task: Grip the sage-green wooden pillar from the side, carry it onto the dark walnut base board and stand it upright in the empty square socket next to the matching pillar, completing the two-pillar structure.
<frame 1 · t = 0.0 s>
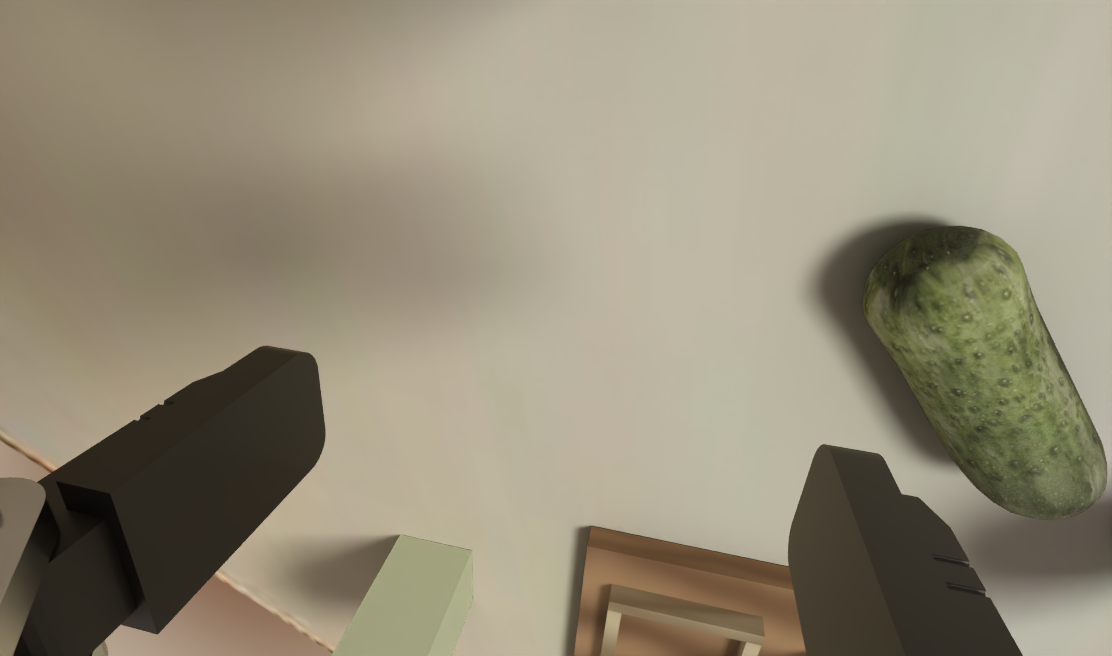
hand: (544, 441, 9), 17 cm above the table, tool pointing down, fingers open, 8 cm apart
walnut base board: (739, 637, 36), on the table
vegetable: (962, 350, 25), on the table
sage pillar: (437, 567, 39), on the table
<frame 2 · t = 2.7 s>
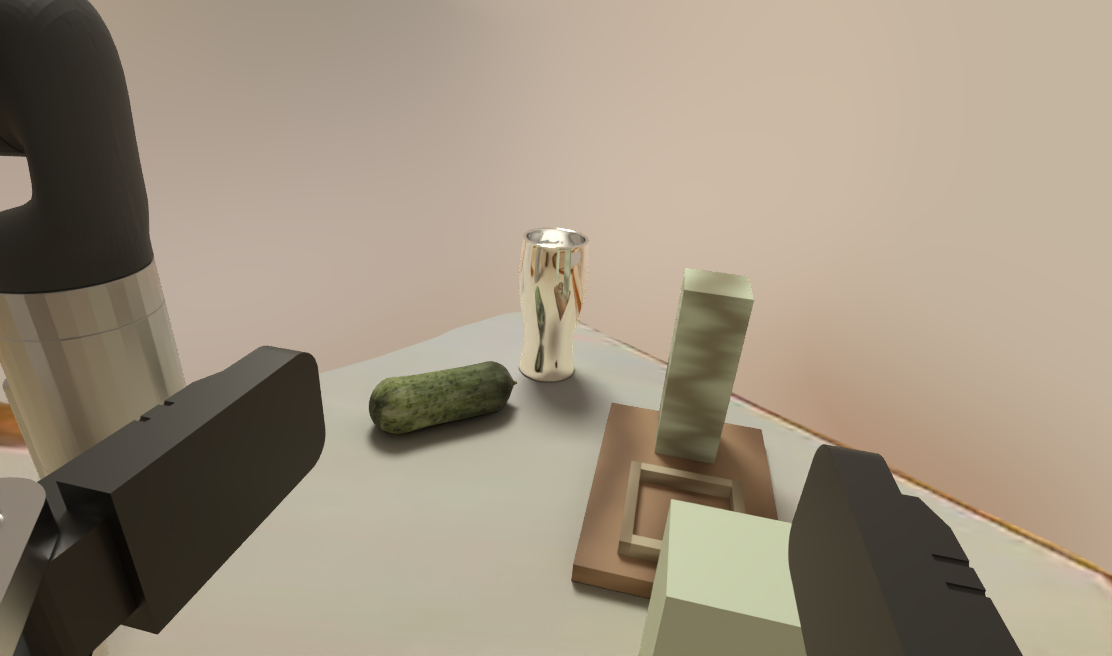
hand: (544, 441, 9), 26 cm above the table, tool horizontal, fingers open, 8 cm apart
walnut base board: (680, 500, 46), on the table
beer glass: (546, 369, 64), on the table
vegetable: (447, 419, 54), on the table
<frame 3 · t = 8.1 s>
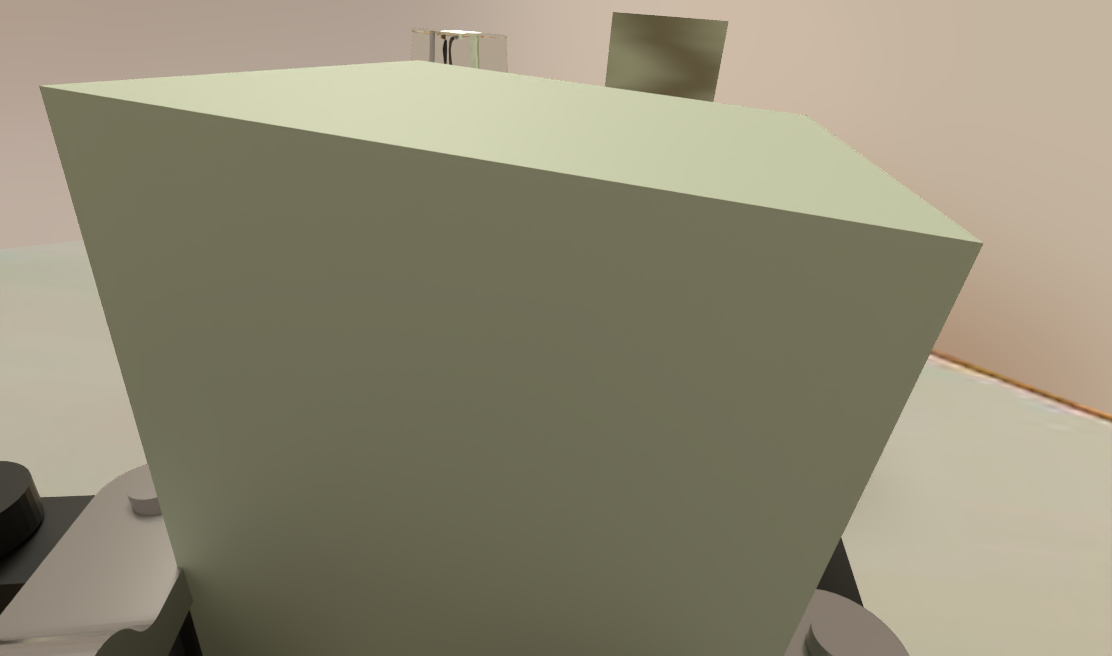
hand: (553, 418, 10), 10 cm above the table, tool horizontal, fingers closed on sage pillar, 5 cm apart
walnut base board: (612, 377, 30), on the table
beer glass: (460, 240, 47), on the table
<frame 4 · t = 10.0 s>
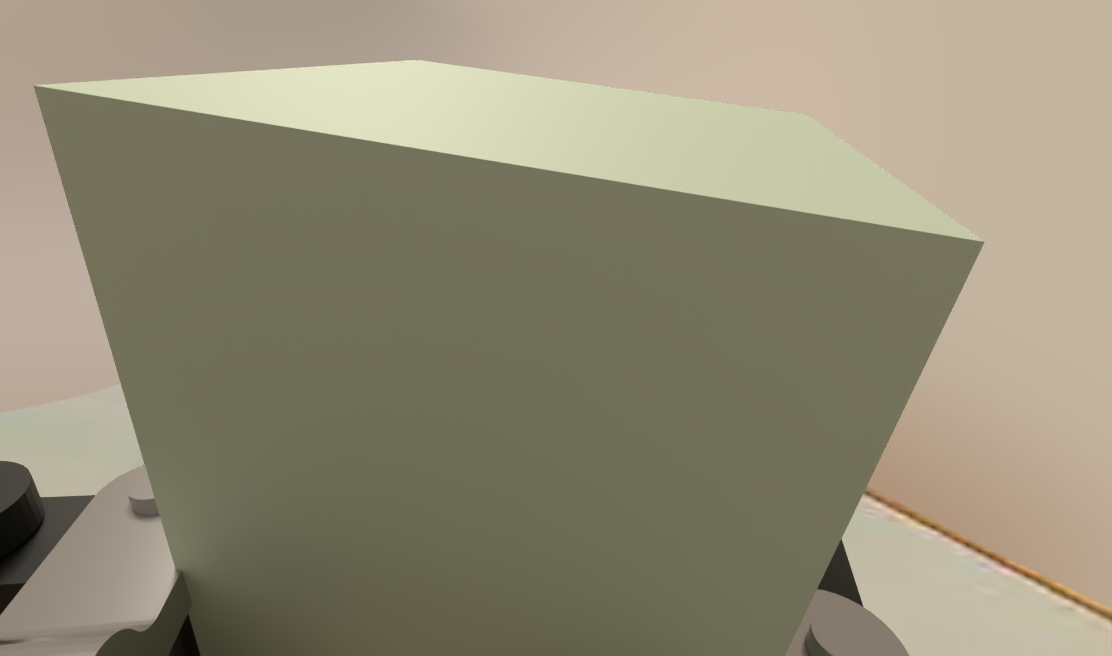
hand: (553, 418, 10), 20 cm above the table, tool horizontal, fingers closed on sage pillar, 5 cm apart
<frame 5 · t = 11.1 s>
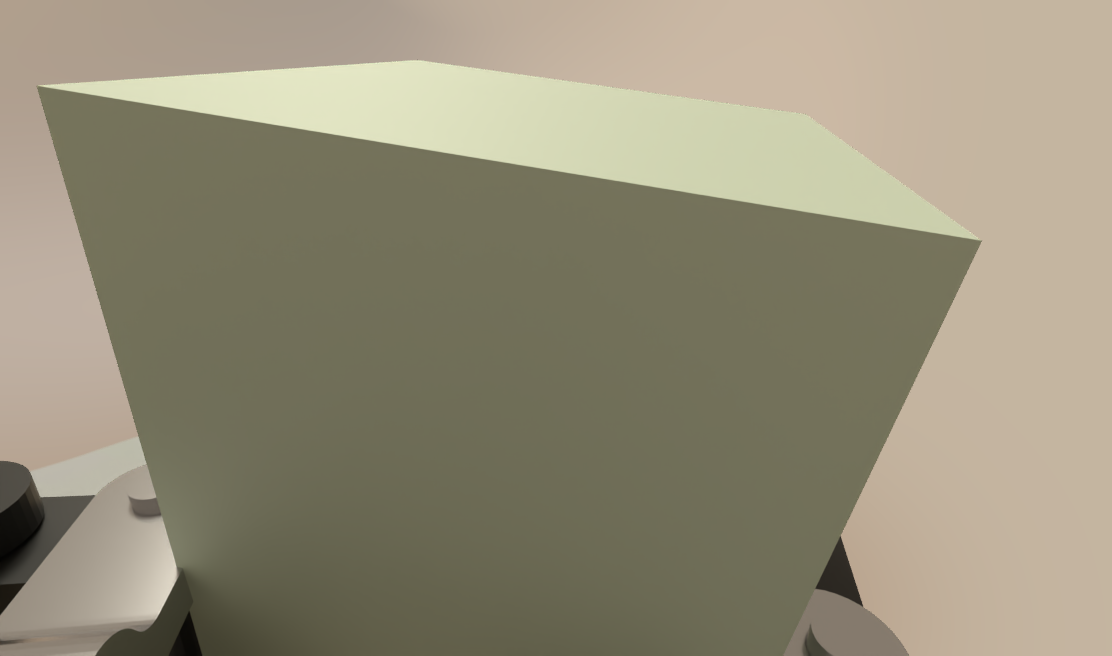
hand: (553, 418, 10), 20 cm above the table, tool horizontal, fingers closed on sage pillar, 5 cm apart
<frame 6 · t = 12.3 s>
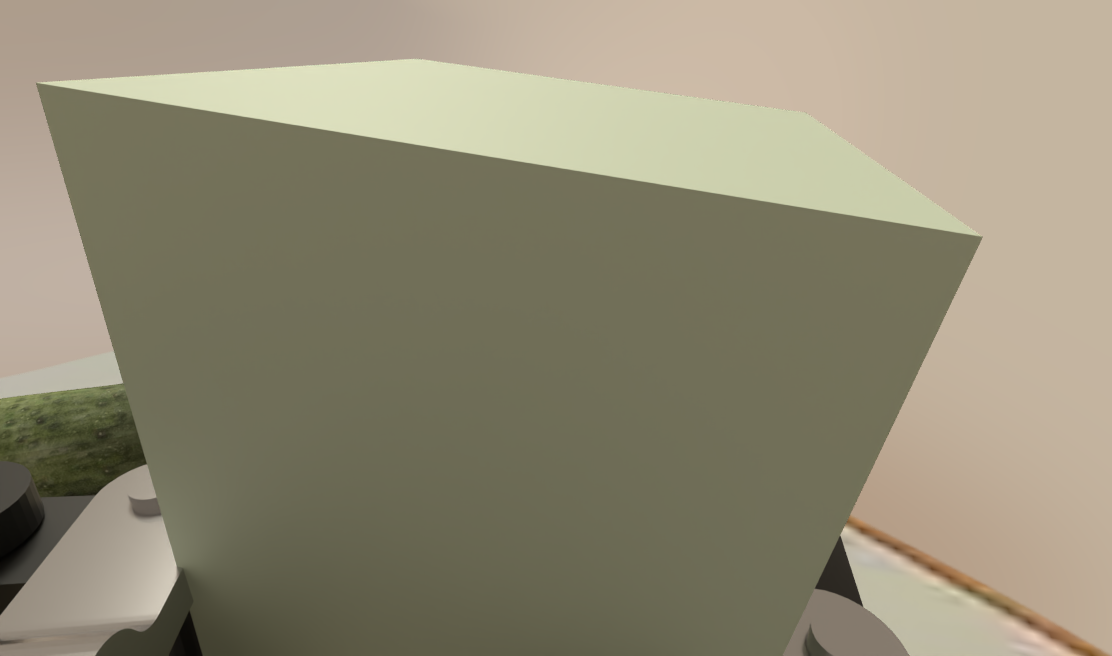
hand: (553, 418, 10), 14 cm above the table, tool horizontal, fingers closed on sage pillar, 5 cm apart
vegetable: (81, 493, 26), on the table
when the fingers open (11 cm above the table, at t = 13.4 s): sage pillar stays where it is, resting on walnut base board.
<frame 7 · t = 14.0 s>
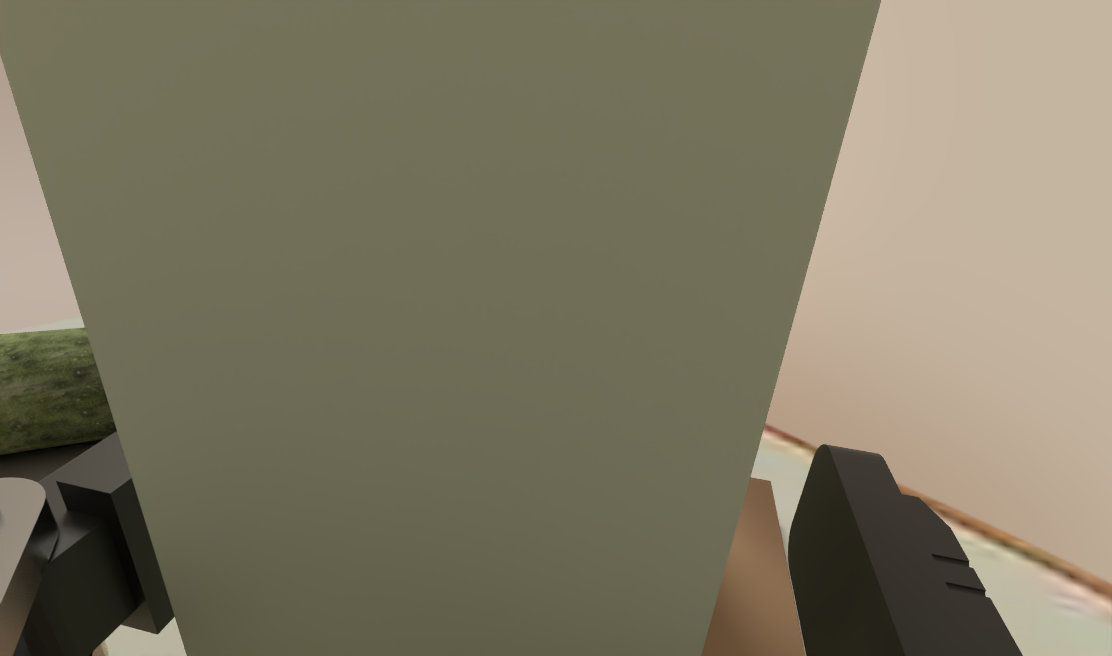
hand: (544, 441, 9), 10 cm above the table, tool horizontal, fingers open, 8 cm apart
vegetable: (61, 442, 25), on the table
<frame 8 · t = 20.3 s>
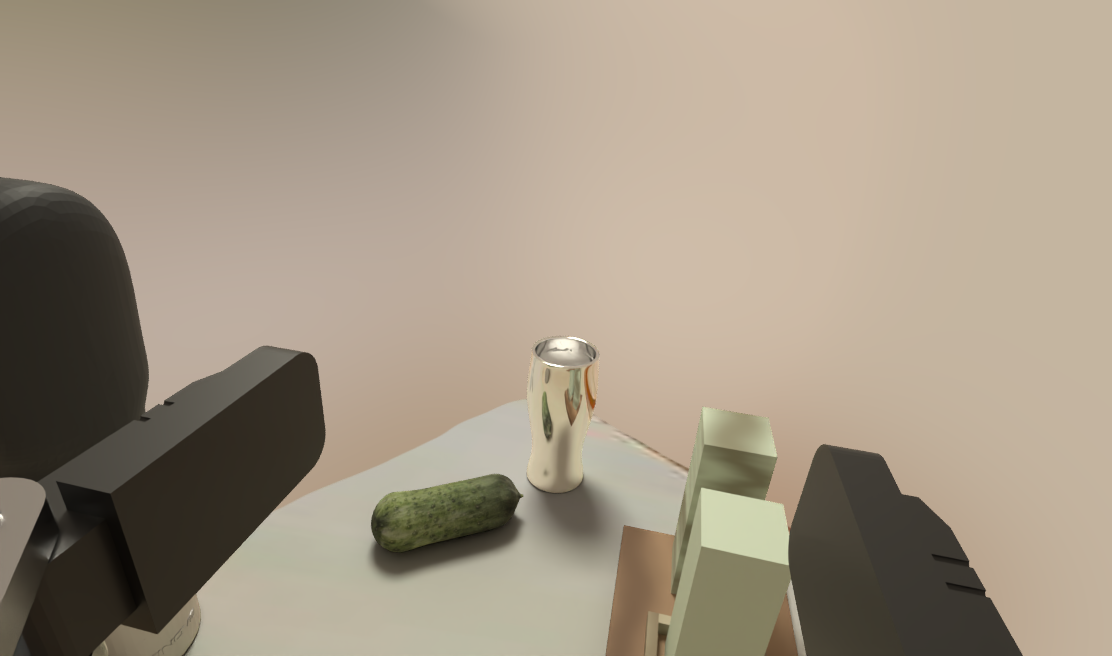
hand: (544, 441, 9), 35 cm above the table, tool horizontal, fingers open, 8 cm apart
walnut base board: (699, 651, 44), on the table
beer glass: (554, 475, 62), on the table
vegetable: (450, 531, 54), on the table
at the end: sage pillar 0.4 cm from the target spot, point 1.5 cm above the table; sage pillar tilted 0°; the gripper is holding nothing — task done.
